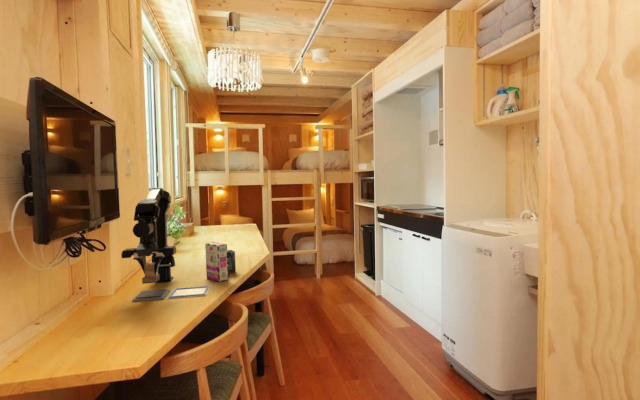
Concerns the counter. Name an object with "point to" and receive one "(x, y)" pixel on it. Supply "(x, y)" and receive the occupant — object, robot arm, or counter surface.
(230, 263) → the box
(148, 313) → the counter surface
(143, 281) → the stamp
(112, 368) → the counter surface
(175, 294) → the marked sheet
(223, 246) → the candy bar box
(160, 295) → the ink pad
